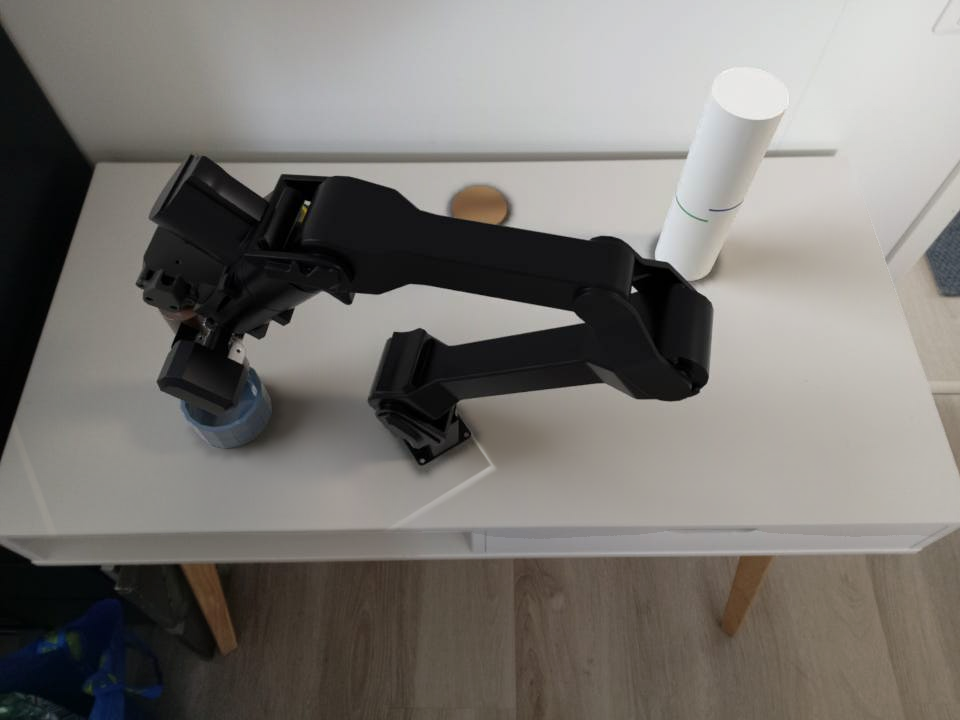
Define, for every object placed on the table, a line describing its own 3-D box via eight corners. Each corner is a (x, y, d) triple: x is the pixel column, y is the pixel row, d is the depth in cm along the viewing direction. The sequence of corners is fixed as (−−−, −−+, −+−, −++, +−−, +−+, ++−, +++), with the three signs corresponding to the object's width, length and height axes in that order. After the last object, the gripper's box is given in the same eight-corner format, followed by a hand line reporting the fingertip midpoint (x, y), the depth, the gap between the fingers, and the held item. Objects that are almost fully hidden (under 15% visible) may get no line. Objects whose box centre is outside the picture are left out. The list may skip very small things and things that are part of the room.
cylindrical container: (717, 281, 88) (796, 120, 67) (657, 280, 88) (717, 119, 67) (709, 234, 92) (782, 67, 70) (652, 233, 92) (707, 66, 70)
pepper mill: (256, 377, 74) (210, 300, 62) (214, 396, 73) (159, 321, 61) (241, 344, 76) (194, 263, 64) (200, 362, 75) (145, 283, 63)
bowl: (285, 425, 79) (274, 405, 74) (214, 464, 77) (198, 445, 72) (254, 369, 82) (241, 346, 78) (184, 404, 80) (168, 383, 76)
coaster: (517, 215, 93) (517, 213, 93) (471, 239, 91) (471, 236, 91) (487, 180, 96) (487, 178, 96) (442, 202, 94) (441, 200, 94)
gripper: (221, 131, 58) (146, 209, 69) (131, 328, 49) (60, 383, 60) (335, 209, 65) (250, 269, 75) (273, 396, 56) (186, 435, 66)
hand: (191, 332), depth 69 cm, fingers closed on pepper mill, 4 cm apart
